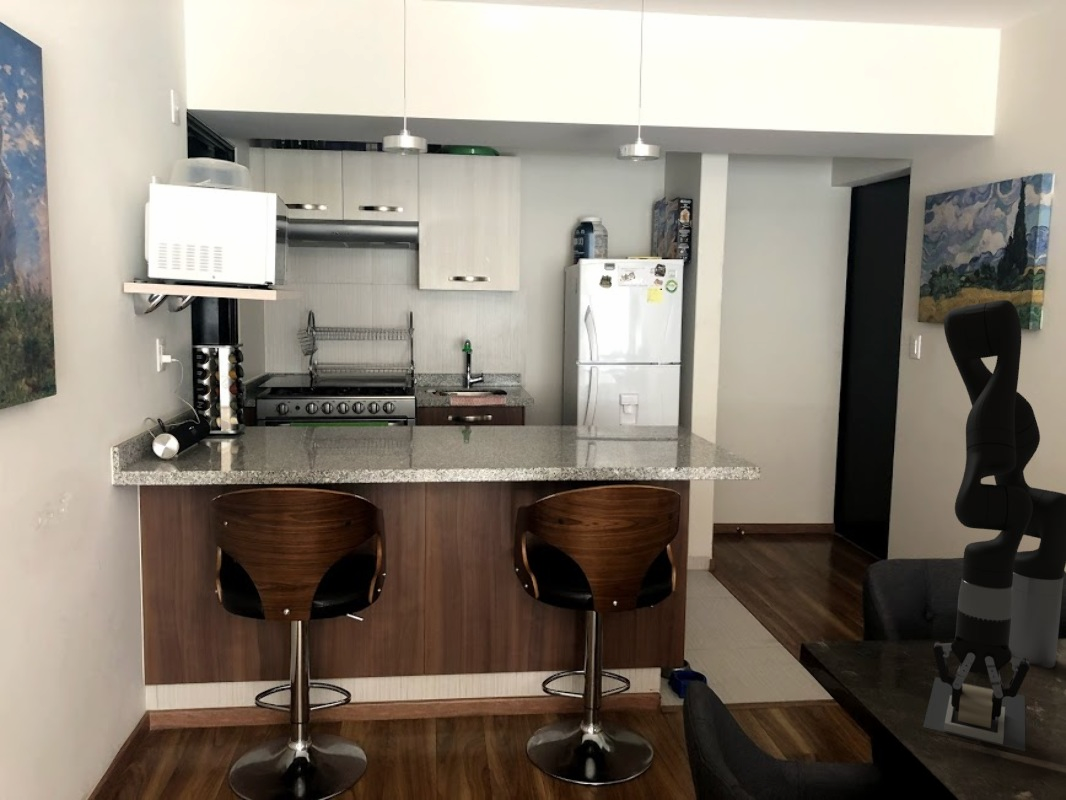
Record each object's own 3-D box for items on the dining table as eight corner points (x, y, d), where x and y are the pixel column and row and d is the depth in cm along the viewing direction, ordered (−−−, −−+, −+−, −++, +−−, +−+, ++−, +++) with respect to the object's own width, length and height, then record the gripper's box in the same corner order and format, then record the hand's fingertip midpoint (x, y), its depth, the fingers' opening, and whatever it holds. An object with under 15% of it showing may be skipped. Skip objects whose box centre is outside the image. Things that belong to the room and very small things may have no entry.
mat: (934, 681, 155) (935, 676, 155) (1024, 700, 149) (1024, 695, 148) (922, 731, 136) (923, 726, 136) (1024, 756, 129) (1025, 751, 129)
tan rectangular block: (990, 728, 134) (992, 709, 133) (958, 720, 136) (959, 702, 135) (992, 707, 140) (993, 690, 140) (961, 701, 143) (962, 683, 142)
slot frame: (949, 702, 145) (950, 695, 145) (1004, 714, 141) (1004, 707, 141) (943, 730, 135) (944, 723, 135) (1002, 744, 131) (1003, 736, 131)
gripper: (932, 607, 137) (924, 711, 138) (1037, 626, 130) (1027, 735, 131) (936, 594, 143) (928, 694, 145) (1036, 611, 136) (1026, 715, 138)
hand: (975, 713), depth 138 cm, fingers closed on tan rectangular block, 4 cm apart
